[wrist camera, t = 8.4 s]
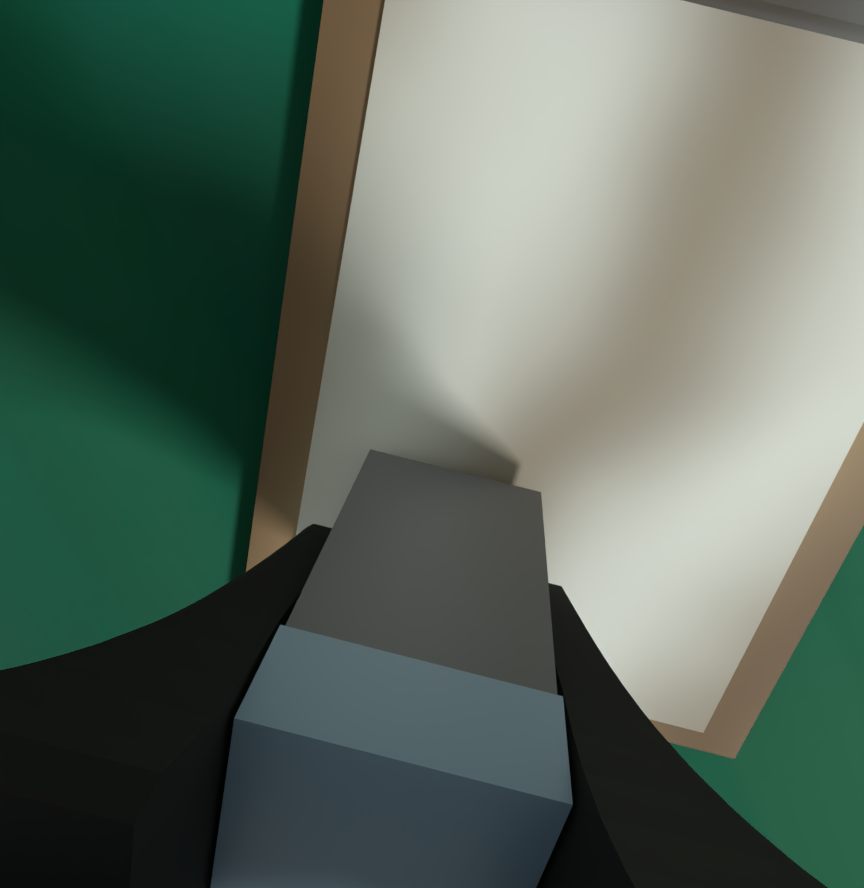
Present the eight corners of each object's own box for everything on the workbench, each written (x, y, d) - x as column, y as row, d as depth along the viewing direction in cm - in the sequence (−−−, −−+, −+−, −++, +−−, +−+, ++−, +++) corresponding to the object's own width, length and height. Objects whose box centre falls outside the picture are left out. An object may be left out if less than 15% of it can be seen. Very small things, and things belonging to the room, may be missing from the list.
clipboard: (246, 616, 17) (219, 663, 15) (364, -219, 10) (338, -285, 9) (727, 738, 17) (749, 799, 15) (1142, -33, 10) (1253, -67, 9)
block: (338, 592, 15) (204, 928, 8) (368, 446, 13) (233, 717, 7) (497, 631, 15) (486, 1002, 8) (544, 490, 13) (573, 804, 7)
